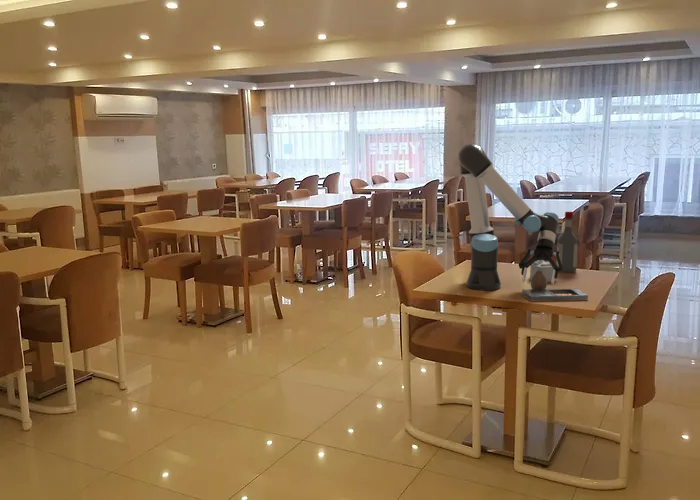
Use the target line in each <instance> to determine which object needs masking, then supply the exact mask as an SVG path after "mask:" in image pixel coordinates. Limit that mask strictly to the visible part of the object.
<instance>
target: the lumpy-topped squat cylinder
mask: <svg viewBox="0 0 700 500" xmlns="http://www.w3.org/2000/svg"><path fill="white" fill-rule="evenodd" d="M529 267H530V269H529V270H530V271H529V274H530V275H529V278H530V280H531V279H532V277H533V276H534V275H535V273H536V272H537V271H541V272H542V273H543V275H544V276H545V278H546V280H547V283H548V282H549V283H551V280H552V275H553V270H554V269H553V267H552V266H551V264H550V263H549V262H548V261H544V260H537V261H535V262H534V263H533V264H532V265H531V266H529ZM556 281H557V279H556V278H555V280H554V282H556Z"/></svg>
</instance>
